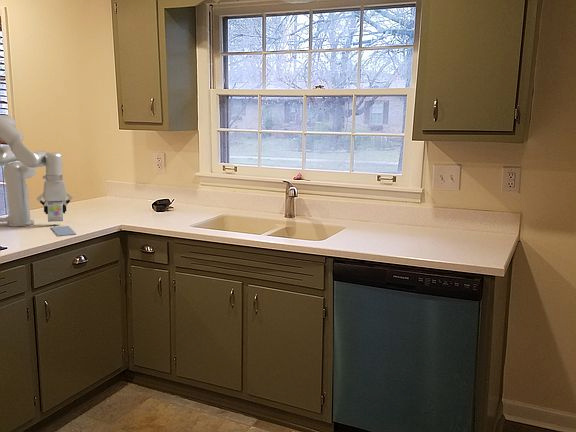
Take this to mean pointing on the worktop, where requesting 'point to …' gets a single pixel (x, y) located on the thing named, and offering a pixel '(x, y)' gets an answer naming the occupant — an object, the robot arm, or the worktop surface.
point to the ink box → (55, 211)
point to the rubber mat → (63, 231)
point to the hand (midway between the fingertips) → (55, 213)
